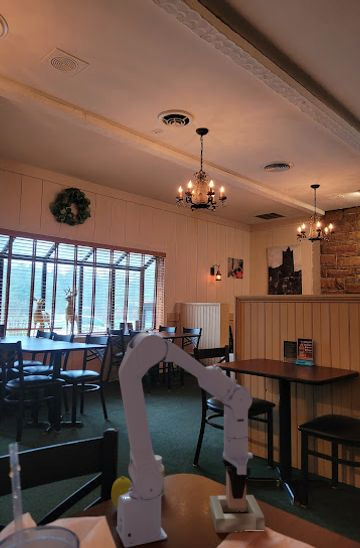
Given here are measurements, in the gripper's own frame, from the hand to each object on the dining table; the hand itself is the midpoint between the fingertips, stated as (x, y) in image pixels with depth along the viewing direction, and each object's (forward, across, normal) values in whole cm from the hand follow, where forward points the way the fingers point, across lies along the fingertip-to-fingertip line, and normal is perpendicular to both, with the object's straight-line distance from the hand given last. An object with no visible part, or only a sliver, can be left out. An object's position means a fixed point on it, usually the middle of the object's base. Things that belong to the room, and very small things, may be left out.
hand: (235, 493), depth 98 cm
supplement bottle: (+6, +13, +20) cm, 24 cm away
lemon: (+6, +5, +27) cm, 28 cm away
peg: (+2, 0, 0) cm, 2 cm away
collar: (+6, 0, 0) cm, 6 cm away
